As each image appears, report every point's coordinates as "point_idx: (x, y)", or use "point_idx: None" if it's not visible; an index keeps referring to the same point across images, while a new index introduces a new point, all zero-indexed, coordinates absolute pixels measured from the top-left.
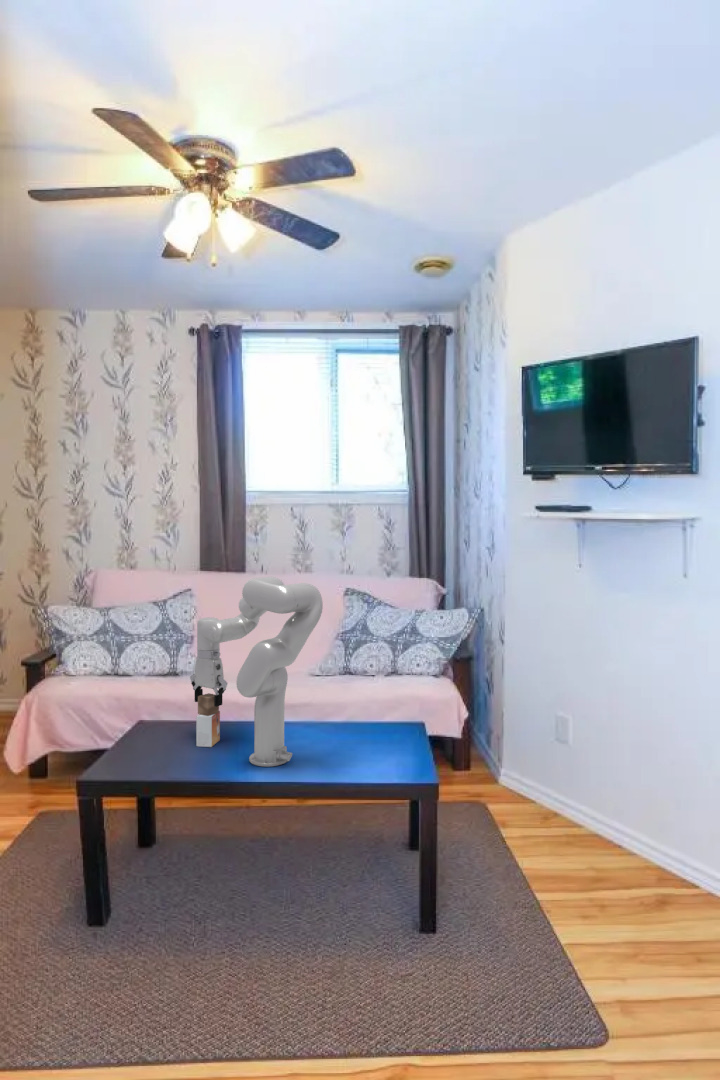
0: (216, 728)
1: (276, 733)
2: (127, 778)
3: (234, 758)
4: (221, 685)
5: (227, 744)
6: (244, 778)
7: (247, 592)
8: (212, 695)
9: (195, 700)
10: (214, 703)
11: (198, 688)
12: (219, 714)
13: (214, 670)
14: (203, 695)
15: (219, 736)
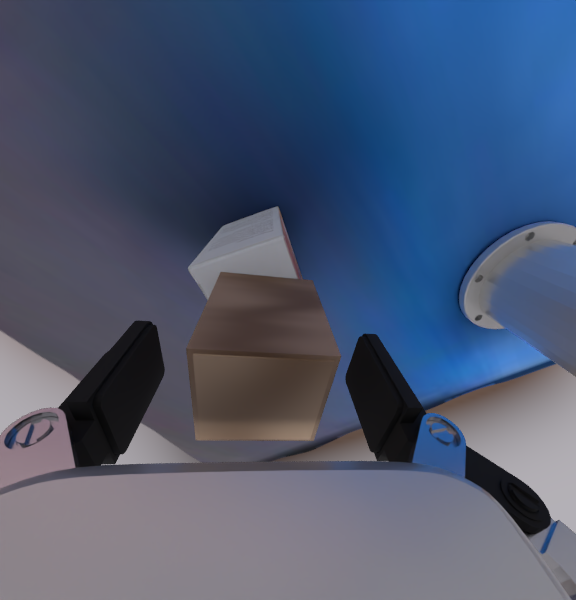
0: (296, 261)
1: None
2: (273, 451)
3: (412, 311)
4: (444, 481)
5: (332, 230)
6: (475, 376)
7: None
8: (290, 387)
9: (156, 383)
10: (354, 397)
11: (93, 461)
12: (286, 238)
13: None
14: (220, 417)
15: (279, 211)
